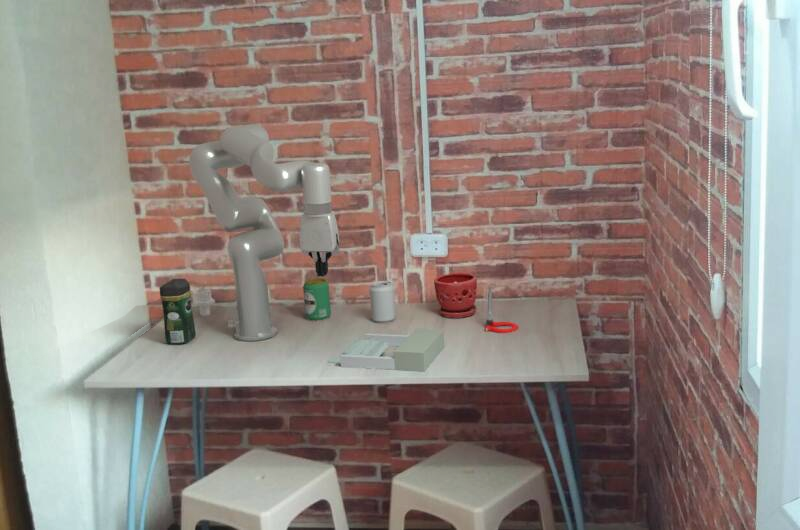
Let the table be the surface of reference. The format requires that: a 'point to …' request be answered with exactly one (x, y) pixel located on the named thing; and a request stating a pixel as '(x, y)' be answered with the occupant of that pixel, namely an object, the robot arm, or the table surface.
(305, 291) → the beverage can
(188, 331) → the coffee jar
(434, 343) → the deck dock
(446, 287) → the plant pot
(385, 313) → the can
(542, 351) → the table surface
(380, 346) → the metal bracket
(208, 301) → the pipe fitting
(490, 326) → the tow hook
